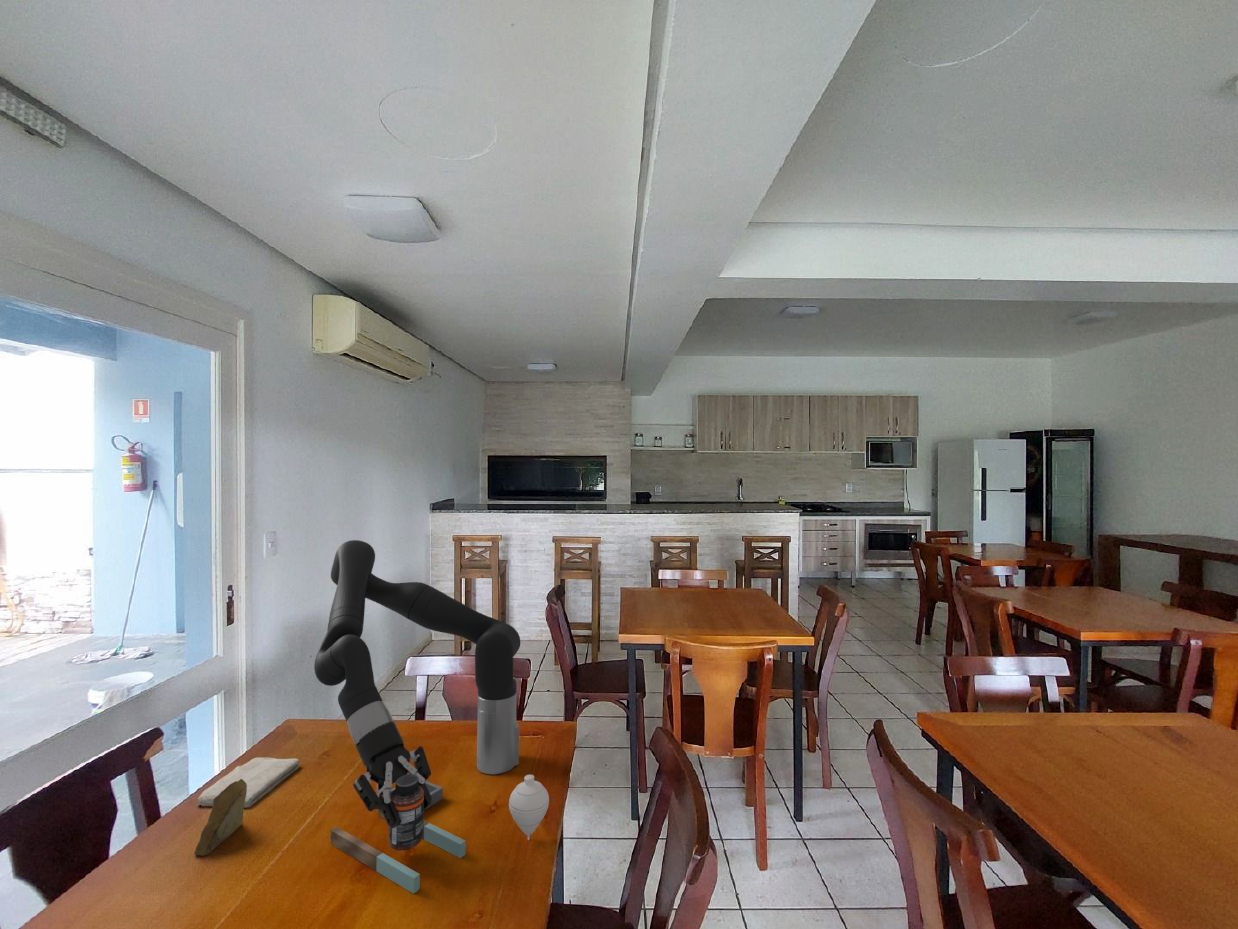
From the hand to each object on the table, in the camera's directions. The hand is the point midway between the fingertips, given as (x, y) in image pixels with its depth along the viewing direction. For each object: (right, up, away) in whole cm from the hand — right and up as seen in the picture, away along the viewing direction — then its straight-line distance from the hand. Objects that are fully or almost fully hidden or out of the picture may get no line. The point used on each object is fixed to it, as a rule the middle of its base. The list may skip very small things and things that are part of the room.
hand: (412, 815), depth 100 cm
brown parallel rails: (-8, -8, +6) cm, 13 cm away
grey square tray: (-7, -9, +18) cm, 21 cm away
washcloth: (-45, -9, +24) cm, 52 cm away
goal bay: (+2, -8, -1) cm, 8 cm away
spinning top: (+20, -9, +6) cm, 23 cm away
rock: (-40, -8, +6) cm, 41 cm away
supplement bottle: (-2, -6, +1) cm, 6 cm away
